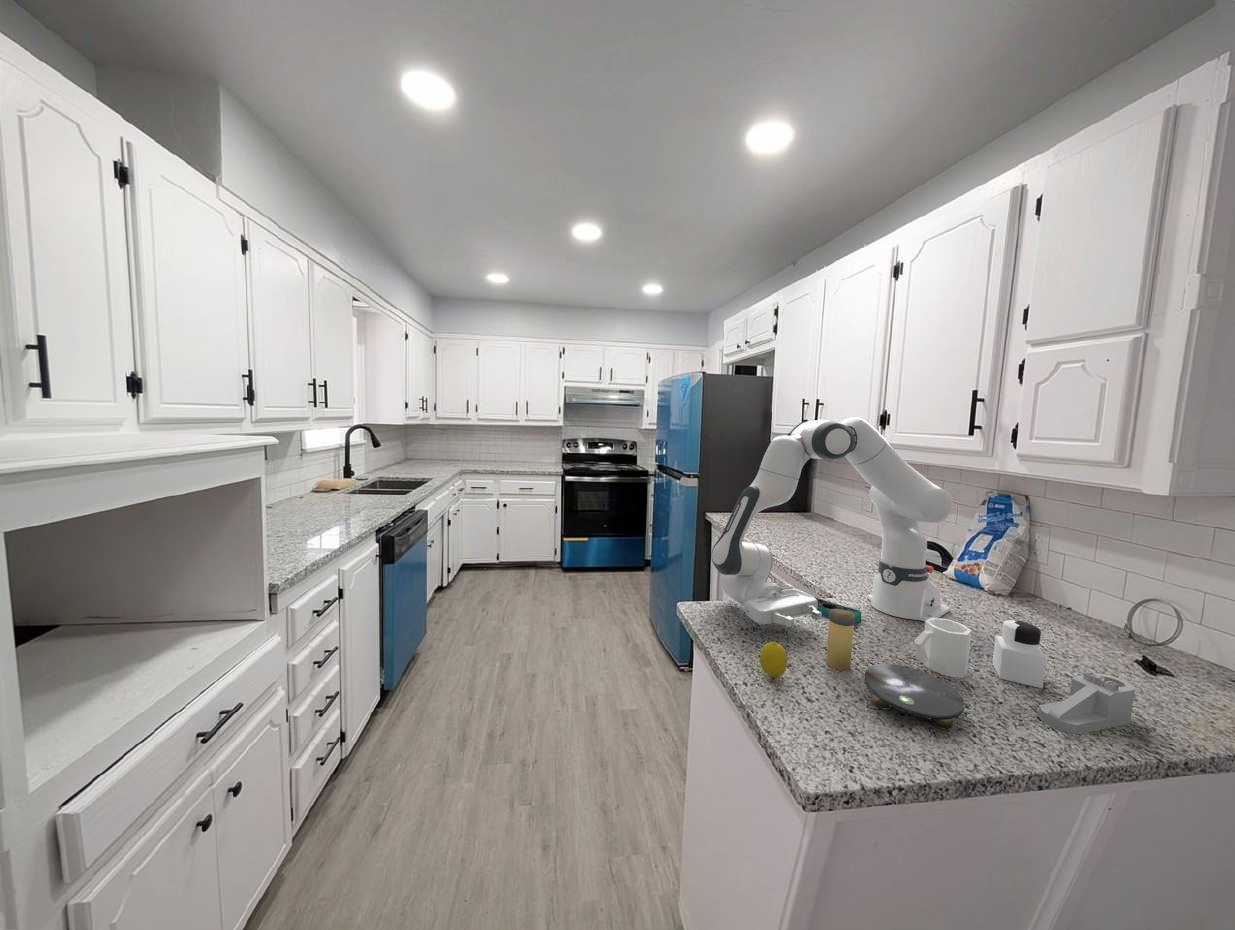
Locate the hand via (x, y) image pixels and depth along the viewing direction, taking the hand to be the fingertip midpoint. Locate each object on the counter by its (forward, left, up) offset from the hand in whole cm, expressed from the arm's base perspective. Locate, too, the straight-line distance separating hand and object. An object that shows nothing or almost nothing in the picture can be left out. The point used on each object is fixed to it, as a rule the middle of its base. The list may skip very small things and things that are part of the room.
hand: (806, 619), depth 108 cm
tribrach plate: (0, +26, -6) cm, 26 cm away
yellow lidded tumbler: (0, +10, -7) cm, 12 cm away
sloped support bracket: (-27, +41, -7) cm, 50 cm away
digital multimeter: (-22, -10, -7) cm, 25 cm away
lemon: (+18, +8, -7) cm, 21 cm away
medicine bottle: (-33, +28, -7) cm, 44 cm away
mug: (-20, +20, -7) cm, 29 cm away
